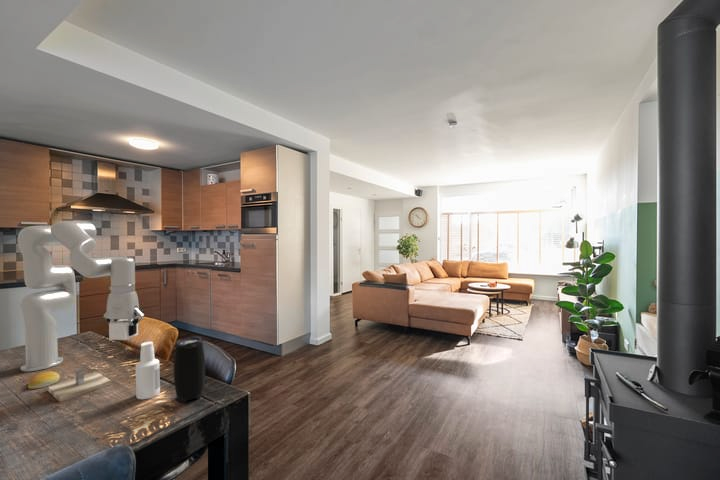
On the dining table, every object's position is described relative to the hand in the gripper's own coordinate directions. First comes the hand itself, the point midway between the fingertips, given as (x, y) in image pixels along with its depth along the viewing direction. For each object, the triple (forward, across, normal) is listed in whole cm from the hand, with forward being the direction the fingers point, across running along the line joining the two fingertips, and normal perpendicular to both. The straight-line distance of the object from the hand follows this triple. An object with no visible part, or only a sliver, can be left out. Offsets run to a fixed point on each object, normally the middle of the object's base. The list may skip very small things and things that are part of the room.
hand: (124, 334), depth 121 cm
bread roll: (+17, -26, -7) cm, 32 cm away
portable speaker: (+16, +36, -15) cm, 42 cm away
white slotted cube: (+1, 0, 0) cm, 1 cm away
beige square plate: (+17, -9, -10) cm, 21 cm away
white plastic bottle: (+16, +20, -14) cm, 29 cm away
